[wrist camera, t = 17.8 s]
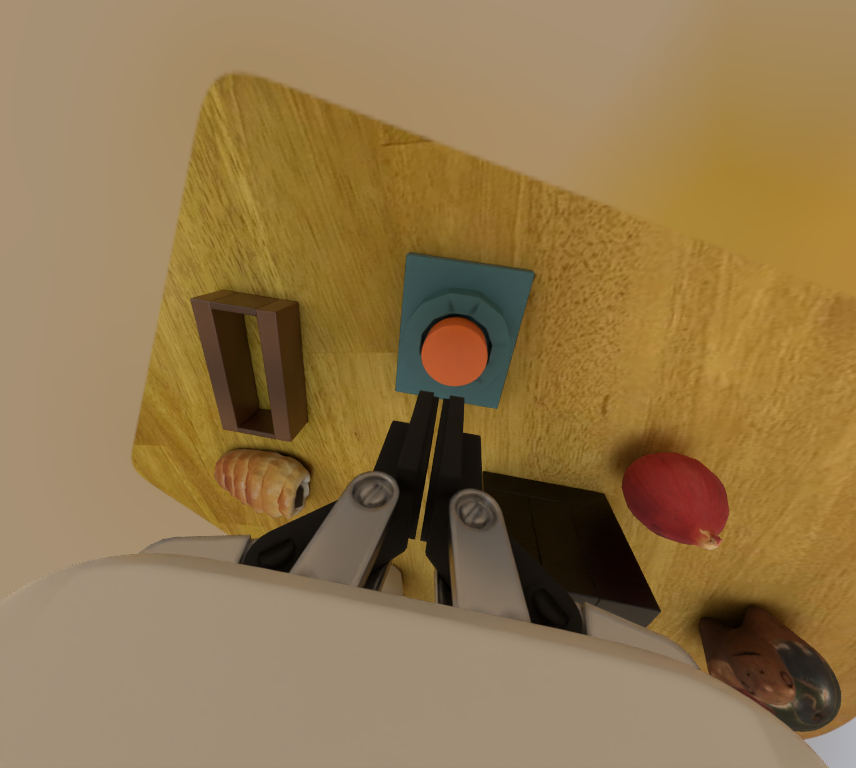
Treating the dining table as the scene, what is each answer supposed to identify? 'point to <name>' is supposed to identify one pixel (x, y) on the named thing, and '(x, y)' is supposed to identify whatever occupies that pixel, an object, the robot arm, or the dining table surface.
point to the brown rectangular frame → (233, 364)
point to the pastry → (264, 481)
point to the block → (467, 298)
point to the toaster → (575, 543)
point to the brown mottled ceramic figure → (773, 669)
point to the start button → (455, 352)
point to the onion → (677, 498)
